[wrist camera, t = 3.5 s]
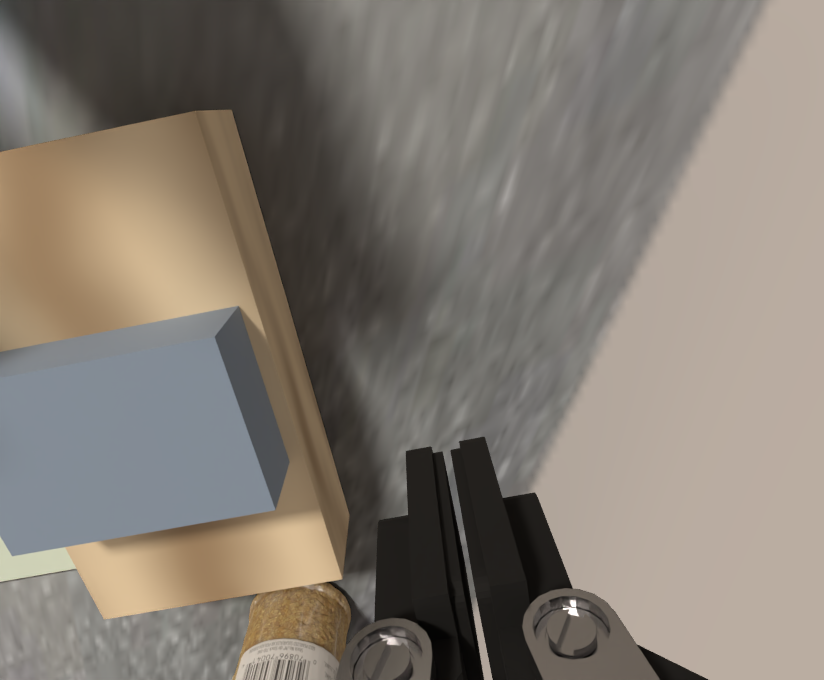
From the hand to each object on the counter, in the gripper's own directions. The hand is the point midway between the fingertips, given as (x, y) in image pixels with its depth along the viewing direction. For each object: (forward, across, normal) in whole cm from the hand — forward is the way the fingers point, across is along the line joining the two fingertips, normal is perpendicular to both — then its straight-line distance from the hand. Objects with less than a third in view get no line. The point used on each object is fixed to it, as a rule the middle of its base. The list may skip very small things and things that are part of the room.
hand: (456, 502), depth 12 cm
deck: (+10, +9, -1) cm, 13 cm away
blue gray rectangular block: (+6, +9, -1) cm, 11 cm away
